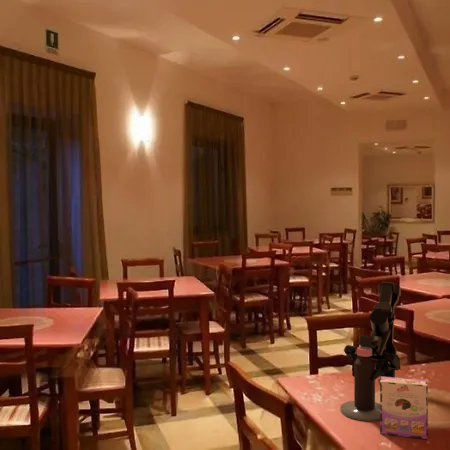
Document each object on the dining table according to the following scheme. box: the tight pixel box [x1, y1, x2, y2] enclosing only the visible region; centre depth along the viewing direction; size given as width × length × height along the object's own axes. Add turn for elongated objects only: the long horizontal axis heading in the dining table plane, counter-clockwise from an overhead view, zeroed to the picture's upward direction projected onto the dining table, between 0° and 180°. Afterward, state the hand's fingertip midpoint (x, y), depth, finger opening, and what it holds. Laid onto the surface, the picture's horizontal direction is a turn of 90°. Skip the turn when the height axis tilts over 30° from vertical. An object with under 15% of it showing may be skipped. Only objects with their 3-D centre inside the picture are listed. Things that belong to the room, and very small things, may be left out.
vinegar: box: [353, 346, 376, 410], centre depth 181 cm, size 7×7×20 cm
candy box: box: [379, 376, 429, 440], centre depth 164 cm, size 14×6×16 cm, turn 71°
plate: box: [339, 400, 380, 422], centre depth 181 cm, size 16×16×1 cm
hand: (362, 378), depth 180 cm, fingers closed on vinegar, 7 cm apart
